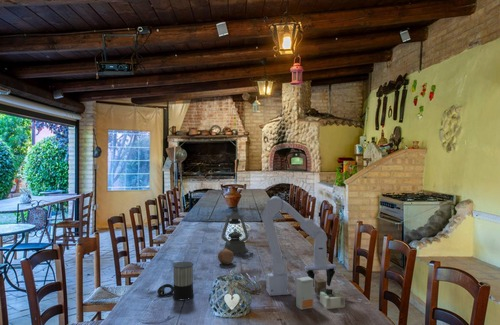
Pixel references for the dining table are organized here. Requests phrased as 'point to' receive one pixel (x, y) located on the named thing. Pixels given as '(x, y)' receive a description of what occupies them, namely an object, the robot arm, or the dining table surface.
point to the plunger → (327, 292)
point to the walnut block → (319, 285)
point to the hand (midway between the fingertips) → (320, 285)
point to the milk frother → (180, 281)
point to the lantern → (235, 233)
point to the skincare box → (304, 292)
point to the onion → (225, 256)
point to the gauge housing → (332, 300)
